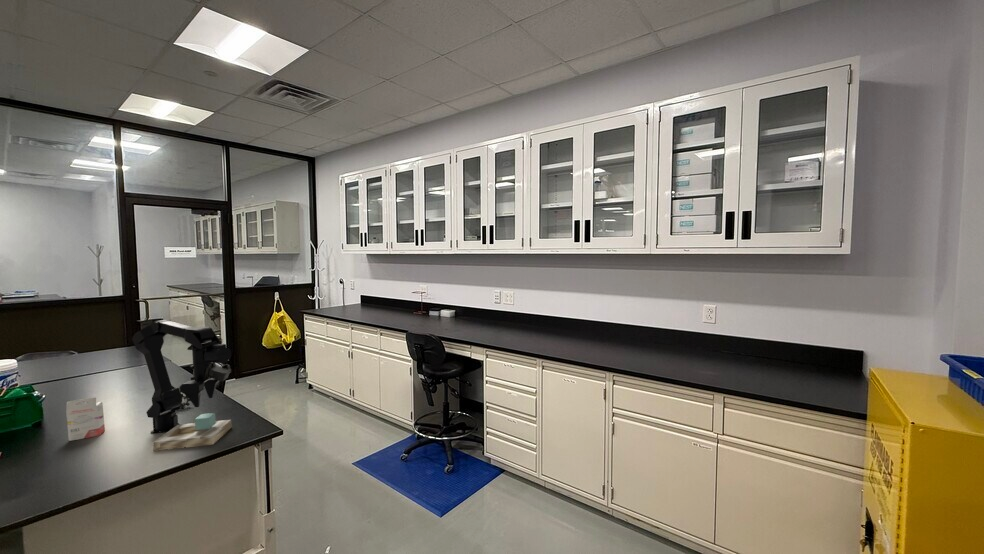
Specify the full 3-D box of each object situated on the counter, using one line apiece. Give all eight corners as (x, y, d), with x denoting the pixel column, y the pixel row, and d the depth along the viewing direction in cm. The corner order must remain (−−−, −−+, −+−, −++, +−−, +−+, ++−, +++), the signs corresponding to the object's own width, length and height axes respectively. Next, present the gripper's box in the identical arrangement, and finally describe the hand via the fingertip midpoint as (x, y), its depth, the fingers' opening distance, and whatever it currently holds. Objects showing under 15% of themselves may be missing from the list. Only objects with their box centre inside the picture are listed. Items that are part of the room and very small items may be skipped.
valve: (169, 404, 173) (173, 411, 165) (168, 390, 173) (172, 396, 164) (187, 400, 178) (192, 406, 170) (186, 386, 177) (191, 392, 169)
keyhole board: (153, 451, 130) (153, 442, 130) (178, 432, 143) (177, 424, 143) (213, 444, 133) (212, 435, 133) (231, 427, 147) (231, 419, 147)
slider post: (192, 439, 136) (191, 420, 135) (201, 431, 141) (200, 413, 141) (211, 437, 137) (210, 418, 136) (219, 430, 143) (218, 411, 142)
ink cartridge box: (105, 430, 147) (102, 393, 146) (99, 435, 142) (96, 397, 141) (74, 435, 143) (71, 397, 142) (67, 441, 138) (64, 401, 137)
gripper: (213, 367, 134) (215, 410, 135) (238, 354, 152) (239, 392, 153) (177, 369, 132) (179, 413, 133) (207, 355, 150) (208, 394, 151)
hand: (204, 402), depth 142 cm, fingers open, 9 cm apart
